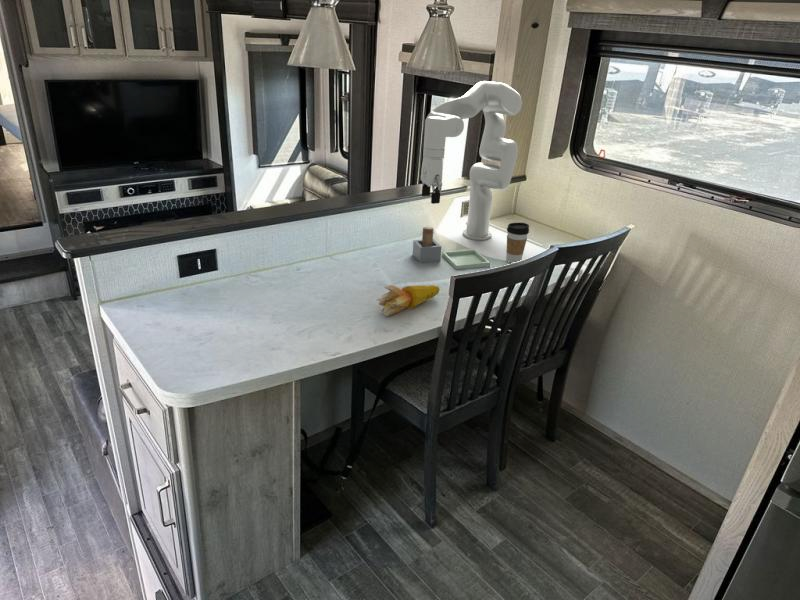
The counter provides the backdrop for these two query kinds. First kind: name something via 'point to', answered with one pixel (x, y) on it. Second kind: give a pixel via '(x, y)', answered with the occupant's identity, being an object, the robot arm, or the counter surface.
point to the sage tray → (465, 259)
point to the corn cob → (405, 297)
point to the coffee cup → (516, 241)
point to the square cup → (426, 252)
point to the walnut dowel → (427, 236)
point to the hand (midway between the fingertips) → (430, 199)
